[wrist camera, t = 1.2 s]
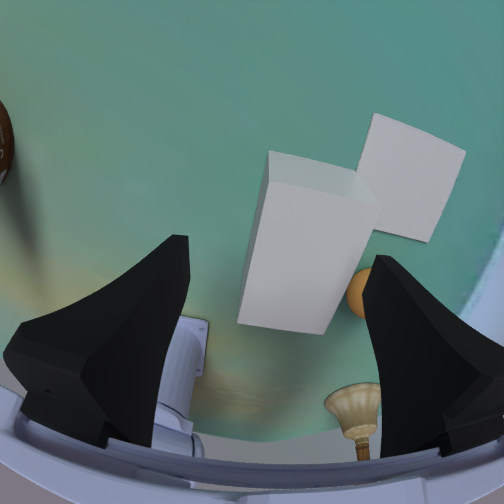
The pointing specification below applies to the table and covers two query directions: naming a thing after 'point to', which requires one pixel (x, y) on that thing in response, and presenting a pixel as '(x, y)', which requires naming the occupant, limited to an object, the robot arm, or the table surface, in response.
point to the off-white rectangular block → (304, 243)
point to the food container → (5, 143)
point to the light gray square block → (408, 176)
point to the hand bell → (357, 414)
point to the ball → (357, 292)
